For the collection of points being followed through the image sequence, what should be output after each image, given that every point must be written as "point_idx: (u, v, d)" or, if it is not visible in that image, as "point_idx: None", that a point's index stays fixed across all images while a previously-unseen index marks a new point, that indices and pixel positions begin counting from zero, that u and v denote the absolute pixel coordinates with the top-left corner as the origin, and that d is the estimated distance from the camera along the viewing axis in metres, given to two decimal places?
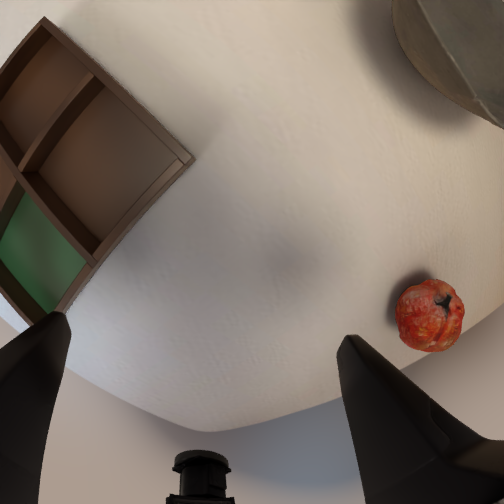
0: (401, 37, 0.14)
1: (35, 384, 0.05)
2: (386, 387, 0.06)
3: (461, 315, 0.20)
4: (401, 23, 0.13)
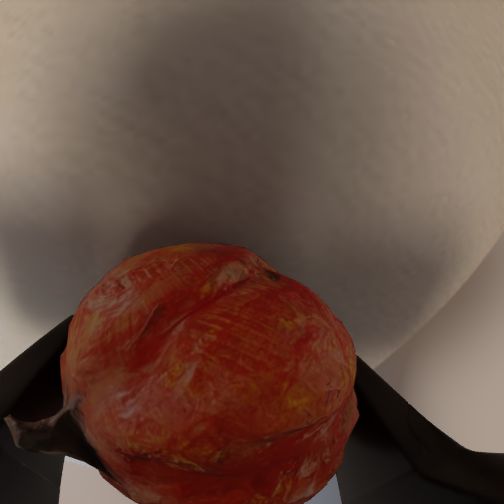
0: None
1: (56, 391, 0.05)
2: (360, 391, 0.06)
3: (216, 474, 0.03)
4: None
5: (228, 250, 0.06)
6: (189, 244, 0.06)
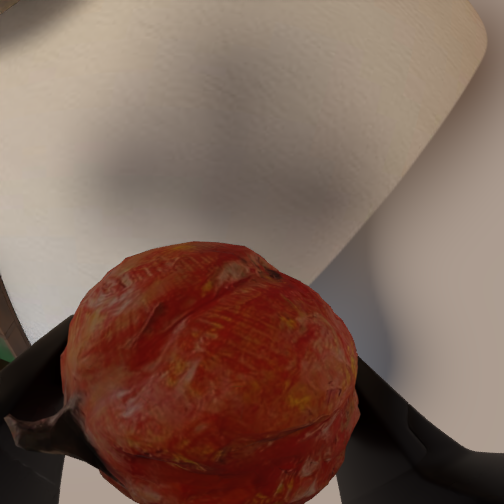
0: None
1: (56, 391, 0.05)
2: (360, 391, 0.06)
3: (217, 473, 0.03)
4: None
5: (229, 249, 0.06)
6: (190, 243, 0.06)
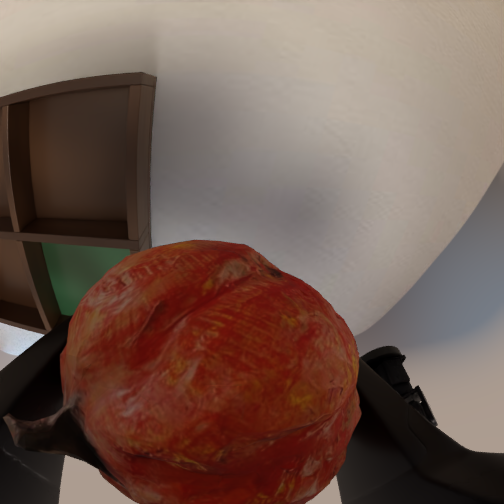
0: None
1: (56, 391, 0.05)
2: (360, 391, 0.06)
3: (218, 473, 0.03)
4: None
5: (230, 247, 0.06)
6: (190, 241, 0.06)
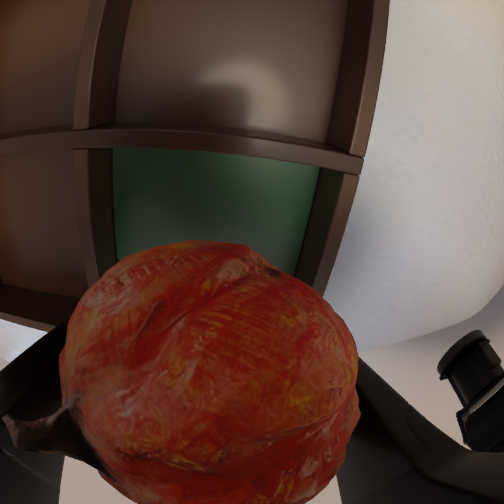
0: None
1: (56, 391, 0.05)
2: (360, 391, 0.06)
3: (217, 474, 0.03)
4: None
5: (228, 247, 0.06)
6: (189, 241, 0.06)
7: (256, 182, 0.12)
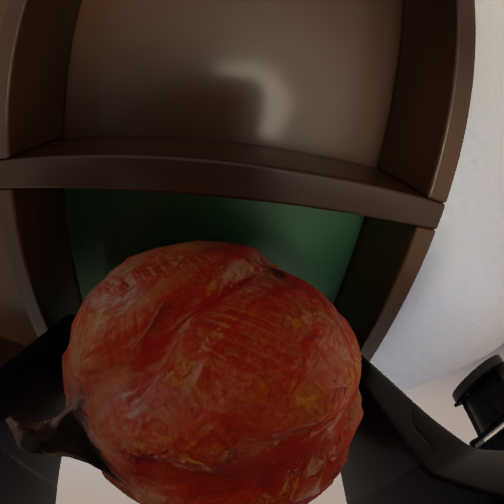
0: None
1: (53, 390, 0.05)
2: (366, 390, 0.06)
3: (223, 474, 0.03)
4: None
5: (233, 248, 0.06)
6: (193, 242, 0.06)
7: (275, 227, 0.08)
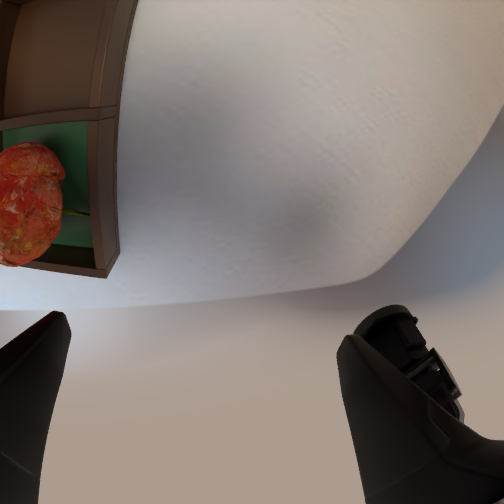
0: None
1: (35, 384, 0.05)
2: (386, 387, 0.06)
3: None
4: None
5: (31, 142, 0.11)
6: None
7: (67, 142, 0.14)
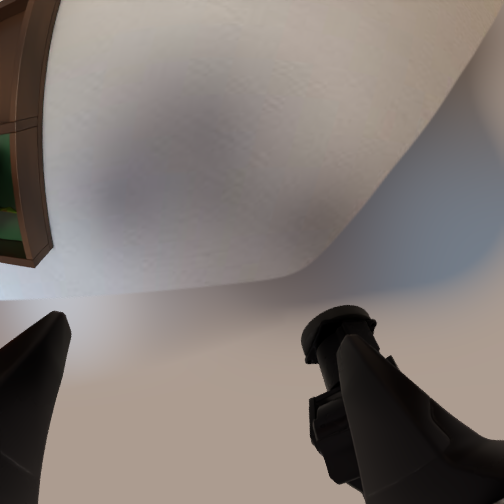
0: None
1: (35, 384, 0.05)
2: (386, 387, 0.06)
3: None
4: None
5: None
6: None
7: (6, 150, 0.14)
